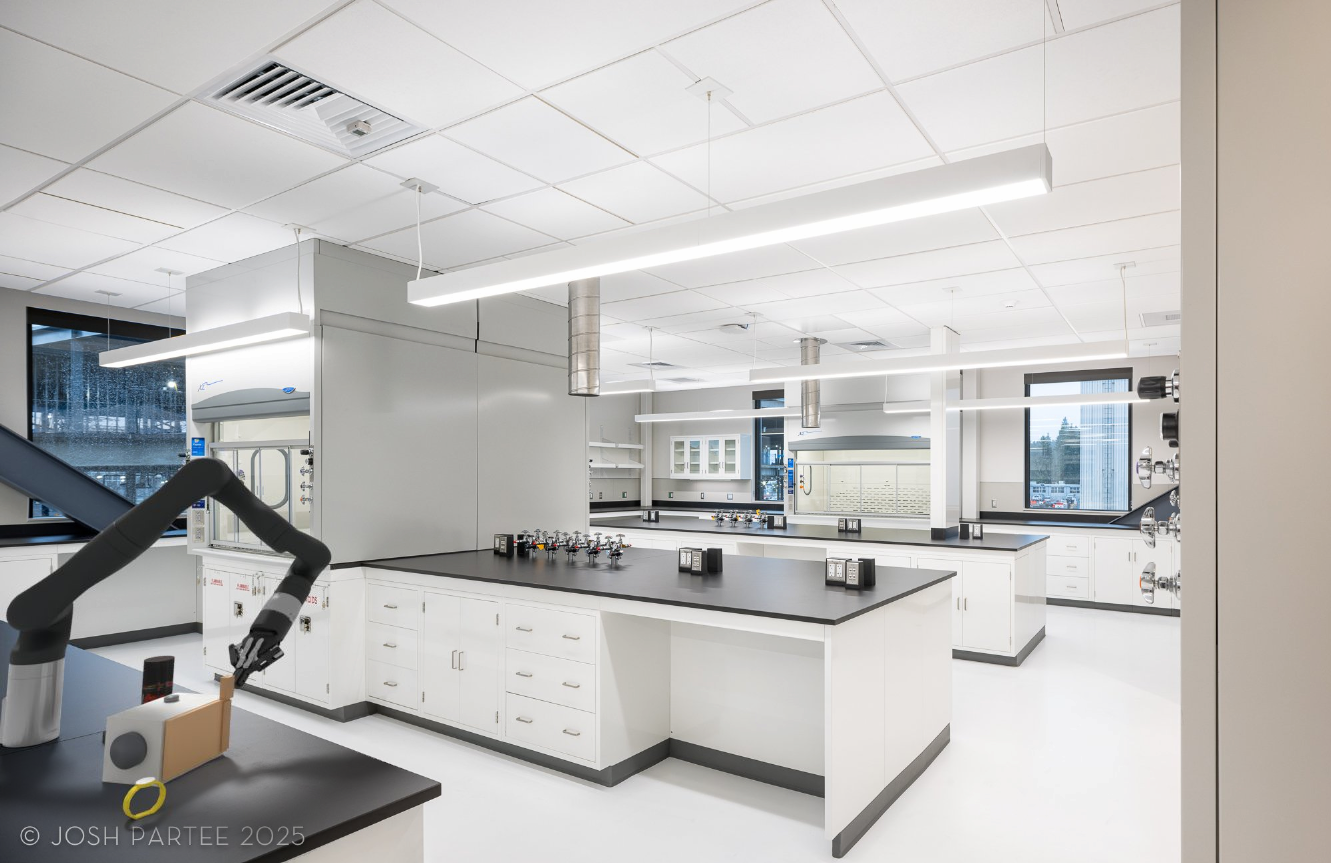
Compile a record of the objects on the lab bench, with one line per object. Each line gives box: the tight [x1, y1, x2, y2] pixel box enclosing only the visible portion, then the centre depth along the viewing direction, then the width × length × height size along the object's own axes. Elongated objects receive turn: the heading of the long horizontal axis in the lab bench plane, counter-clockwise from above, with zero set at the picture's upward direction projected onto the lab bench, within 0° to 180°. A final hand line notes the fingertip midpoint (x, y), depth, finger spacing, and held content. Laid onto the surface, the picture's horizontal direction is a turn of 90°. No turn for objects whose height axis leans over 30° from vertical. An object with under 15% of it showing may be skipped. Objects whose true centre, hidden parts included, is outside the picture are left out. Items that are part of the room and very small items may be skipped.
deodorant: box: [140, 655, 176, 705], centre depth 165 cm, size 6×6×15 cm
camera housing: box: [102, 692, 224, 788], centre depth 140 cm, size 12×18×13 cm
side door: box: [162, 674, 235, 781], centre depth 140 cm, size 2×15×16 cm, turn 172°
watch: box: [122, 777, 167, 820], centre depth 121 cm, size 6×3×6 cm, turn 151°
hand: (233, 686), depth 149 cm, fingers closed
